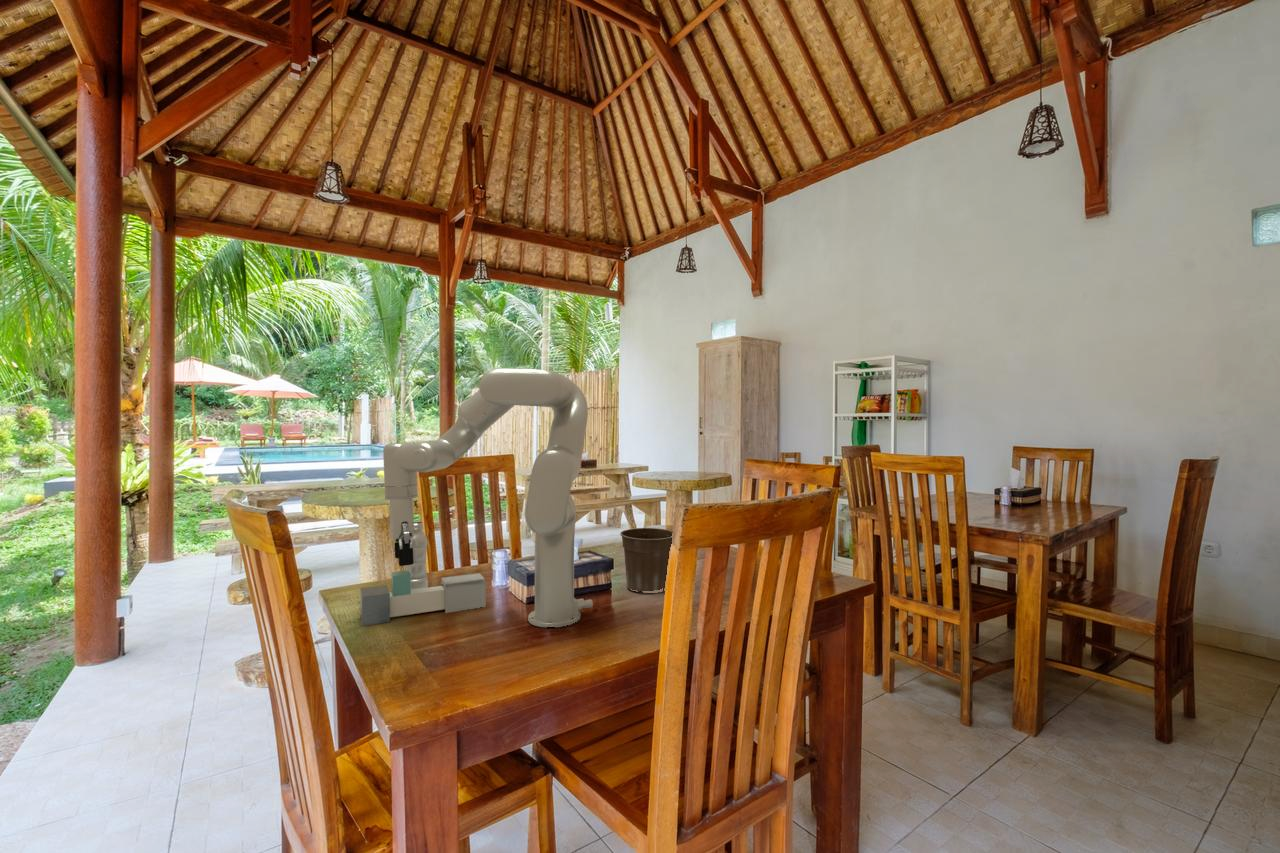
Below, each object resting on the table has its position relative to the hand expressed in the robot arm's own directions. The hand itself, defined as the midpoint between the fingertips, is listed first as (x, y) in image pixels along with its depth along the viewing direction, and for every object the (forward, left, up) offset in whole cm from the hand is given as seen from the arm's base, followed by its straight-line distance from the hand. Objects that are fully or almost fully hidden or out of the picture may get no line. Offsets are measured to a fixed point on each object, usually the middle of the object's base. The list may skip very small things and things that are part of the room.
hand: (404, 561), depth 142 cm
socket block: (+7, 0, -14) cm, 15 cm away
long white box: (-2, 0, -14) cm, 14 cm away
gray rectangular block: (-14, 0, -14) cm, 20 cm away
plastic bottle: (-5, -17, -14) cm, 23 cm away
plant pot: (-65, +9, -14) cm, 67 cm away
